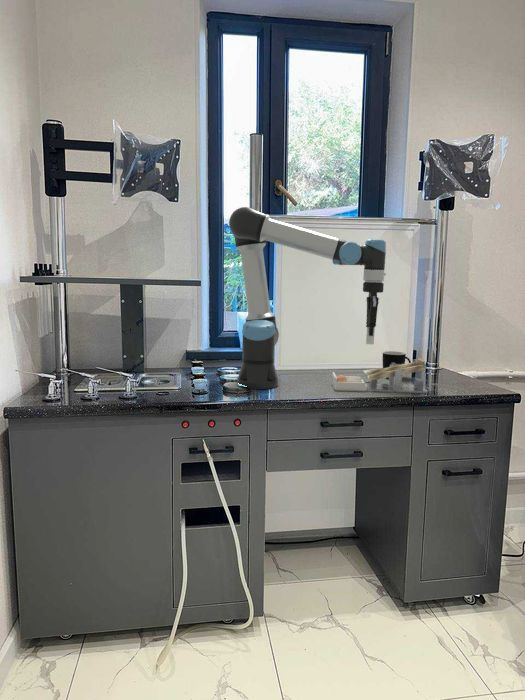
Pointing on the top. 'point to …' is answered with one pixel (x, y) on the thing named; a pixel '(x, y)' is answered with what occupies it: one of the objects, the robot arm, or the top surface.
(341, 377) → the ball
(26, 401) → the top surface
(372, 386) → the stand
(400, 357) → the mug
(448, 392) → the top surface
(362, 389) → the dish
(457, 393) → the top surface
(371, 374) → the wooden ramp
